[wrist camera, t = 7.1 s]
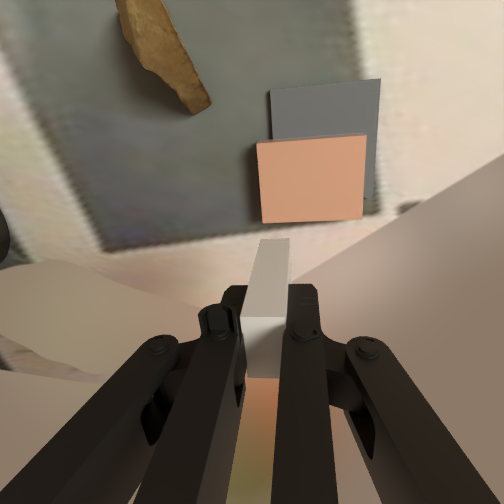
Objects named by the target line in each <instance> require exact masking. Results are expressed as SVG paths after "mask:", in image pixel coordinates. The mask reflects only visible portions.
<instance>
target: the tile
mask: <svg viewBox="0 0 504 504" xmlns="http://www.w3.org/2000/svg"><path fill="white" fill-rule="evenodd" d="M366 139H367V135H365V134H364V133H349V134H336V135H323V136H311V137H298V138H285V139H272V140H259V141H258V142H257V157H258V170H259V182H260V195H261V207H262V220H263V223H281V222H308V221H335V220H361V219H362V210H363V192H364V175H365V157H366Z"/></svg>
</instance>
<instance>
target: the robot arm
mask: <svg viewBox="0 0 504 504" xmlns="http://www.w3.org/2000/svg"><path fill="white" fill-rule="evenodd" d="M8 248H9V232H8V227H7V224H6V221H5V218H4V216H3V214H2V212H1V210H0V263H1V262H2V261H3V259H4V258H5V256H6V254H7V252H8ZM198 318H199V323H200V328H201V336H200V338H198V339H196V340H193V341H189V342H184V343H180V344H179V343H178V340H177V339H176V338H175V337H174V336H171V335H159V336H155V337H153V338H150V339H148V340H147V341H146V342H145V343H143V344H142V345H141V346H140V347H139V349H137V351H136V352H135V353H134V354H133V355H132V356H131V357H130V358H129V359H128V360H127V361H126V362H125V363H124V364H123V365H122V366H121V367H120V368H119V369H118V370H117V371H116V372H115V373H114V374H113V375H112V376H111V377H110V378H109V380H108V381H107V382H106V383H105V384H104V385H103V386H102V387H101V388H100V389H99V390H98V391H97V392H96V393H95V394H94V395H93V396H92V397H91V398H90V399H89V400H88V401H87V402H86V403H85V405H83V407H82V408H81V409H80V410H79V411H78V412H77V413H76V414H75V415H74V416H73V417H72V418H71V419H70V420H69V421H68V422H67V423H66V424H65V425H64V426H63V427H62V428H61V429H60V430H59V431H58V433H56V434H55V436H54V437H53V438H52V439H51V440H50V441H49V442H48V443H47V444H46V445H45V446H44V447H43V448H42V449H41V450H40V451H39V452H38V453H37V454H36V455H35V456H34V457H33V458H32V459H31V460H30V461H29V462H28V464H27V465H26V466H25V467H24V468H23V469H22V470H21V471H20V472H19V473H18V474H17V475H16V476H15V477H14V478H13V479H12V480H11V481H10V482H9V483H8V484H7V485H6V486H5V487H4V488H3V490H2V491H1V492H0V504H128V502H129V500H130V499H131V497H132V496H133V494H134V492H135V491H136V489H137V488H138V486H139V485H140V483H141V485H140V487H139V490H138V492H137V495H136V497H135V500H134V502H133V504H225V503H226V498H227V492H228V486H229V480H230V474H231V470H232V464H233V458H234V453H235V447H236V441H237V435H238V430H239V424H240V419H241V413H242V407H243V402H244V396H245V391H246V386H245V373H246V369H247V376H248V377H251V378H280V380H279V394H278V408H277V422H276V436H275V451H274V463H273V478H272V491H271V504H338V494H337V484H336V473H335V462H334V452H333V441H332V430H331V419H330V409H329V405H332V406H335V407H338V408H341V409H343V410H344V414H345V417H346V419H347V421H348V424H349V426H350V428H351V431H352V433H353V436H354V438H355V440H356V443H357V445H358V447H359V450H360V452H361V455H362V457H363V459H364V462H365V464H366V466H367V469H368V471H369V474H370V476H371V478H372V480H373V483H374V485H375V488H376V490H377V492H378V494H379V497H380V500H381V502H382V504H500V502H499V501H498V499H497V498H496V497H495V495H494V494H493V492H492V491H491V490H490V488H489V487H488V485H487V484H486V483H485V481H484V480H483V478H482V477H481V476H480V474H479V473H478V471H477V470H476V469H475V467H474V466H473V465H472V463H471V462H470V460H469V459H468V458H467V456H466V455H465V453H464V452H463V451H462V449H461V448H460V446H459V445H458V444H457V442H456V441H455V439H454V438H453V437H452V435H451V434H450V432H449V431H448V430H447V428H446V427H445V425H444V424H443V423H442V421H441V420H440V418H439V417H438V416H437V414H436V413H435V412H434V410H433V409H432V407H431V406H430V405H429V403H428V402H427V401H426V399H425V398H424V396H423V395H422V393H421V392H420V391H419V389H418V388H417V386H416V385H415V384H414V382H413V381H412V380H411V378H410V377H409V375H408V374H407V372H406V371H405V370H404V368H403V367H402V365H401V364H400V363H399V362H398V360H397V358H396V357H395V356H394V354H393V353H392V352H391V350H390V349H389V347H388V346H387V345H386V344H385V343H383V342H382V341H380V340H378V339H376V338H372V337H367V336H365V337H364V336H362V337H361V336H359V337H356V338H353V339H351V340H350V341H348V342H347V344H342V343H339V342H336V341H333V340H331V339H329V338H328V337H327V336H325V335H324V334H323V332H322V330H321V325H320V316H319V304H318V293H317V289H316V288H315V287H314V286H313V285H312V284H292V276H291V253H290V238H286V239H260V243H259V247H258V251H257V254H256V258H255V262H254V266H253V270H252V273H251V277H250V281H249V285H231V286H230V287H229V288H228V289H227V290H226V291H225V292H224V294H223V297H222V300H221V302H220V303H218V304H212V305H209V306H206V307H205V308H203V309H202V310H201V311H200V312H199V314H198ZM141 481H142V482H141Z"/></svg>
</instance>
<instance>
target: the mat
mask: <svg viewBox="0 0 504 504" xmlns="http://www.w3.org/2000/svg"><path fill="white" fill-rule="evenodd" d="M380 84H381V78H380V79H370V80H361V81H351V82H341V83H331V84H321V85H312V86H302V87H292V88H282V89H272V90H270V98H271V114H272V131H273V139H285V138H298V137H311V136H323V135H336V134H349V133H364V134H365V135H367V139H366V157H365V175H364V192H363V198H373V187H374V172H375V157H376V143H377V128H378V113H379V99H380Z"/></svg>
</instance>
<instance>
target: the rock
mask: <svg viewBox="0 0 504 504" xmlns="http://www.w3.org/2000/svg"><path fill="white" fill-rule="evenodd" d="M115 2H116V7H117V9H118V10H119V13H120V23H121V26H122V30H123V31H122V33H123V36H124V37H125V38H126V41H127V42H129V43H130V44H131V46H132V48H133V52H134V54H135V55H136V57H137V58H138V59H139V61H140V63H141V65H142V66H143V67H144V68H145V69H146V70H150V71H152V72H154V73H156V74H157V75H159V76H160V77H161V78H162V79H163V81H164V82H166V83H167V84H168V85H169V86H170V87H171V88H173V89H174V90H175V92H176V95H177V96H178V98H179V100H180V101H181V102H182V103H183V104H184V105H186V107H187V108H188V110H189V111H190V112H191V113H192V114H196V113H198V112H200V111H201V110H203V109H205V108H207V107H208V106H210V105H211V103H212V102H211V99H210V96H209V95H208V92H207V90H206V89H205V87H204V85H203V83H202V81H201V79H200V77H199V75H198V73H197V71H196V69H195V67H194V65H193V63H192V61H191V59H190V57H189V55H188V53H187V51H186V49H185V47H184V45H183V43H182V41H181V39H180V37H179V34H178V32H177V31H176V29H175V26H174V24H173V22H172V20H171V18H170V15H169V12H168V10H167V8H166V6H165V4H164V3H163V1H162V0H115Z"/></svg>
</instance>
